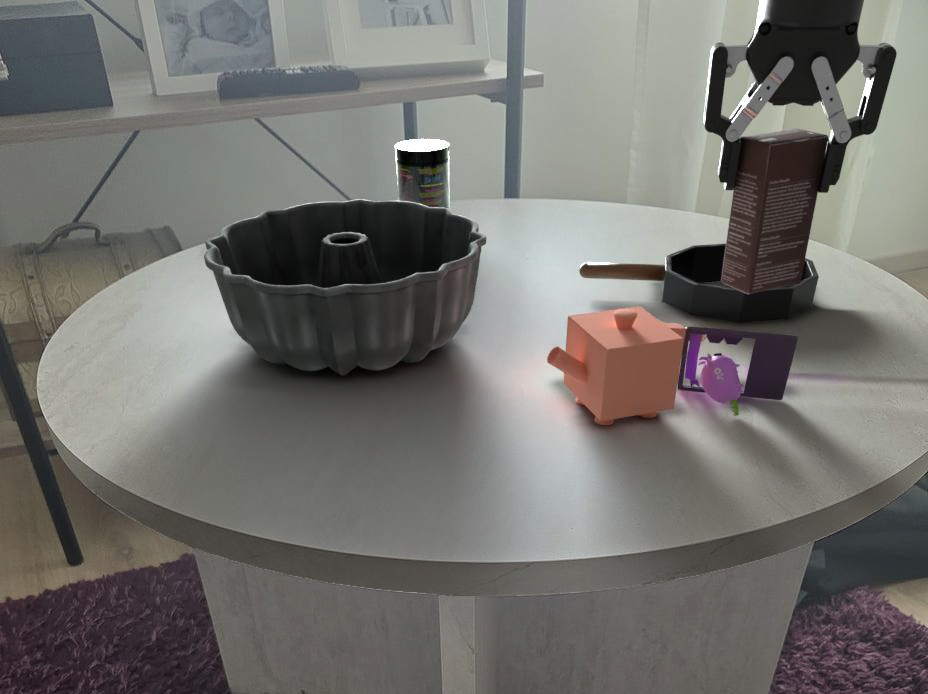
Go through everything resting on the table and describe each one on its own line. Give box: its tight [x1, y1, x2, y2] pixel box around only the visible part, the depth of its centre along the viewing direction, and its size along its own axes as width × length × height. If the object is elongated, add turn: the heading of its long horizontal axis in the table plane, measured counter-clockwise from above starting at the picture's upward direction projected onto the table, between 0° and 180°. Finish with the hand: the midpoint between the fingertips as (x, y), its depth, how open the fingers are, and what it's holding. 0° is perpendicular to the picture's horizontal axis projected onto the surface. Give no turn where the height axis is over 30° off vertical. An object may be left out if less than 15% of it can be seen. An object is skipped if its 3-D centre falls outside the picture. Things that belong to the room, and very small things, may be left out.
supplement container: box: [394, 138, 451, 210], centre depth 116 cm, size 7×7×10 cm
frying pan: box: [578, 242, 820, 324], centre depth 97 cm, size 24×16×4 cm, turn 80°
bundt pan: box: [203, 198, 487, 376], centre depth 89 cm, size 26×26×10 cm
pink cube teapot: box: [546, 305, 686, 426], centre depth 76 cm, size 8×12×8 cm, turn 107°
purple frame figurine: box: [677, 325, 799, 417], centre depth 77 cm, size 7×5×9 cm
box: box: [720, 128, 829, 294], centre depth 79 cm, size 6×4×12 cm
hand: (775, 189), depth 78 cm, fingers closed on box, 7 cm apart
